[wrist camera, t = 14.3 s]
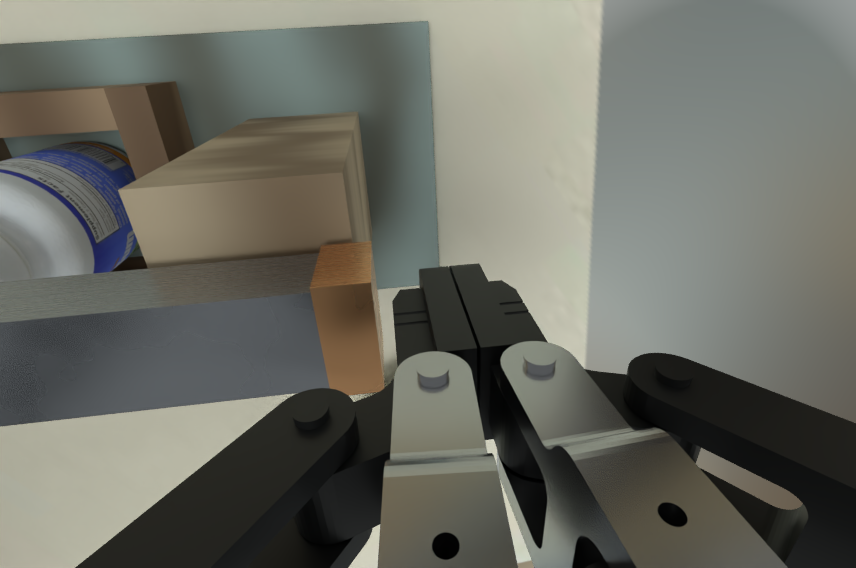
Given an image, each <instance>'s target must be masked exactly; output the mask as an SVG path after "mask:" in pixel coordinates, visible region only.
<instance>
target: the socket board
mask: <svg viewBox="0 0 856 568" xmlns="http://www.w3.org/2000/svg"><path fill="white" fill-rule="evenodd" d="M79 141H86V142H96V143H100V144H104V145H108V146H110V147H113V148H115V149H117V150H119V151H121V152H123V153H125V154H126V155H128V158H129V161H130V164H131V166H132V169H133V172H134V175H135V178H136V180H135V181H134V182H132V183H130V184H128V185H126V186H124V187H123V188H121V189H119V190H118V191H119V194H120V197H121V199H122V202H123V204H124V207H125V210H126V212H127V215H128V217H129V220H130V223H131V225H132V228H133V231H134V233H135V236H136V238H137V241H138V244H139V246H140V248H139V249H138V250H136V251H135V252H134V253H133V254H132V255H130V256H129V257H128V258H127V259H126V260H124V261H123V262H122V263H121V264H119V265H118V266H117V267H116V268H114V269H113V270H112V271H111V272H115V271H126V270H137V269H148V268H160V267H171V266H182V265H193V264H204V263H215V262H226V261H237V260H248V259H259V258H270V257H281V256H292V255H303V254H314V253H319V252H320V248H321V245H332V244H343V243H354V242H365V241H371V243H372V251H373V259H374V268H375V276H376V284H377V289H385V288H395V287H405V286H416V285H420V284H419V269H424V268H435V267H439V254H438V232H437V209H436V187H435V165H434V142H433V120H432V98H431V75H430V53H429V31H428V21H422V22H403V23H385V24H367V25H348V26H330V27H311V28H293V29H275V30H256V31H238V32H219V33H201V34H183V35H164V36H146V37H127V38H109V39H90V40H72V41H54V42H35V43H17V44H0V161H3V160H7V159H11V158H14V157H18V156H22V155H25V154H29V153H33V152H36V151H40V150H43V149H47V148H50V147H54V146H57V145H61V144H65V143H70V142H79Z"/></svg>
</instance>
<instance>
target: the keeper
mask: <svg viewBox="0 0 856 568" xmlns="http://www.w3.org/2000/svg"><path fill="white" fill-rule="evenodd" d="M316 388H330V389H336V390H339V391H341V392H343V393H345V394H347V395H356V394H365V393H374V392H380V391H381V390H383V389H384V358H383V335H382V326H381V318H380V310H379V301H378V293H377V284H376V276H375V268H374V259H373V251H372V243H371V241H365V242H354V243H343V244H332V245H321V248H320V252H319V253H314V254H303V255H292V256H281V257H270V258H259V259H248V260H237V261H226V262H215V263H204V264H193V265H182V266H171V267H160V268H148V269H137V270H126V271H115V272H104V273H93V274H82V275H71V276H60V277H49V278H38V279H27V280H16V281H5V282H0V426H8V425H17V424H26V423H35V422H43V421H52V420H61V419H70V418H79V417H88V416H97V415H106V414H115V413H124V412H132V411H141V410H150V409H159V408H168V407H177V406H186V405H195V404H204V403H213V402H221V401H230V400H239V399H248V398H257V397H266V396H275V395H284V394H293V393H300V392H303V391H306V390H310V389H316Z"/></svg>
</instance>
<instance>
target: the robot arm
mask: <svg viewBox="0 0 856 568" xmlns="http://www.w3.org/2000/svg"><path fill="white" fill-rule="evenodd" d="M419 284H420V288H416V289H406V290H400V291H399V292H398V294H397V295H396V297H395V298H394V300H393V301H392V302H393V314H394V327H395V340H396V352H397V365H398V366H397V369H396V372H395V375H394V379H393V380H392V381H391V383H390V384H389V385H388V386H387V387H385V388H384V389H383V390H381V391H380V392H378V393H376V394H374V395H372V396H369V397H367V398H364V399H361V400H359V401H356V402H353V401H352V399H351V398H350V397H349V396H348V395H347V394H345V393H343V392H341V391H339V390H336V389H330V388H316V389H310V390H306V391H303V392H300V393H298V394H295V395H293V396H291V397H290V398H288V399H286V400H285V401H284V402H282V403H281V404H280V405H278V406H277V407H276V408H275V409H273V410H272V411H271V412H270V413H268V414H267V415H266V416H265V417H263V418H262V419H261V420H260V421H258V422H257V423H256V424H255V425H253V426H252V427H251V428H250V429H248V430H247V431H246V432H245V433H243V434H242V435H241V436H240V437H238V438H237V439H236V440H235V441H233V442H232V443H231V444H230V445H228V446H227V447H226V448H225V449H223V450H222V451H221V452H220V453H218V454H217V455H216V456H215V457H213V458H212V459H211V460H210V461H208V462H207V463H206V464H205V465H203V466H202V467H201V468H200V469H198V470H197V471H196V472H195V473H193V474H192V475H191V476H189V477H188V478H187V479H186V480H184V481H183V482H182V483H181V484H179V485H178V486H177V487H176V488H174V489H173V490H172V491H171V492H169V493H168V494H167V495H166V496H164V497H163V498H162V499H161V500H159V501H158V502H157V503H156V504H154V505H153V506H152V507H151V508H149V509H148V510H147V511H146V512H144V513H143V514H142V515H141V516H139V517H138V518H137V519H136V520H134V521H133V522H132V523H131V524H129V525H128V526H127V527H126V528H124V529H123V530H122V531H121V532H119V533H118V534H117V535H116V536H114V537H113V538H112V539H111V540H109V541H108V542H107V543H106V544H104V545H103V546H102V547H101V548H99V549H98V550H97V551H96V552H94V553H93V554H92V555H91V556H89V557H88V558H87V559H86V560H84V561H83V562H82V563H81V564H79V565H78V566H77V567H76V568H348V567H349V566H350V564H351V563H352V562H353V560H354V559H355V557H356V556H357V555H358V553H359V552H360V551H361V549H362V548H363V547H364V545H365V544H366V542H367V541H368V539H369V537H370V535H371V532H372V528H373V527H375V526H377V525H379V524H380V539H379V555H378V568H518V565H517V560H516V555H515V551H514V546H513V541H512V536H511V531H510V527H509V522H508V517H507V512H506V507H505V503H504V498H503V493H502V488H501V483H502V485H503V488H504V490H505V493H506V495H507V498H508V500H509V503H510V506H511V508H512V511H513V513H514V516H515V518H516V521H517V523H518V526H519V529H520V531H521V534H522V536H523V539H524V541H525V544H526V546H527V549H528V552H529V554H530V557H531V559H532V563H533V566H534V568H856V423H853V422H851V421H848V420H846V419H843V418H840V417H838V416H835V415H832V414H830V413H827V412H825V411H822V410H819V409H817V408H814V407H811V406H809V405H806V404H804V403H801V402H798V401H796V400H793V399H791V398H788V397H785V396H783V395H780V394H778V393H775V392H772V391H770V390H767V389H764V388H762V387H759V386H756V385H754V384H751V383H748V382H746V381H744V380H741V379H738V378H736V377H733V376H730V375H728V374H725V373H723V372H720V371H717V370H715V369H712V368H709V367H707V366H704V365H702V364H699V363H697V362H694V361H691V360H689V359H686V358H683V357H680V356H676V355H672V354H666V353H648V354H643V355H640V356H638V357H636V358H634V359H633V360H632V361H631V362H630V363H629V366H628V371H627V375H625V374H616V373H606V372H597V371H591V370H586V369H584V368H583V367H582V366H581V364H580V363H579V362H578V361H577V359H576V358H575V357H574V356H573V355H572V354H571V353H570V352H568V351H567V350H565V349H564V348H562V347H560V346H557V345H555V344H551V343H548V342H547V340H546V339H545V337H544V335H543V334H542V332H541V330H540V329H539V327H538V326H537V324H536V322H535V321H534V319H533V317H532V316H531V314H530V313H528V309H527V307H526V306H525V304H524V303H523V301H522V299H521V297H520V296H519V294H518V293H517V291H516V289H514V288H513V287H511V286H509V285H508V284H506V283H505V282H503V281H502V280H501V281H490V282H488V280H487V278H486V276H485V274H484V272H483V270H482V268H481V266H480V264H479V263H478V264H467V265H456V266H450V267H448V266H446V267H435V268H424V269H419ZM489 439H494V441H495V444H496V447H497V465H496V461H495V458H494V455H493V454H492V453H487V449H486V444H485V440H489ZM701 448H703V449H705V450H707V451H709V452H711V453H714V454H716V455H718V456H720V457H722V458H724V459H726V460H728V461H730V462H732V463H734V464H736V465H738V466H740V467H742V468H744V469H746V470H748V471H750V472H752V473H754V474H756V475H758V476H760V477H762V478H764V479H766V480H768V481H770V482H772V483H774V484H777V485H779V486H780V487H782V488H784V489H786V490H788V491H790V492H791V493H792V494H794V495H795V496H796V497H797V498H799V500H800V501H801V502H802V503H803V504H802V506H801V507H799V508H797V509H794V510H785V509H780V508H777V507H774V506H772V505H770V504H768V503H766V502H764V501H762V500H760V499H758V498H756V497H755V496H753V495H751V494H749V493H747V492H745V491H743V490H741V489H739V488H737V487H735V486H733V485H732V484H729V483H728V482H726V481H724V480H722V479H720V478H718V477H716V476H714V475H712V474H710V473H709V472H707V471H704V470H703V469H701V468H699V467H698V466H697V465H696V461H697V458H698V455H699V452H700V449H701ZM499 478H500V479H499ZM500 480H501V483H500Z"/></svg>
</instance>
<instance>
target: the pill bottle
mask: <svg viewBox="0 0 856 568" xmlns="http://www.w3.org/2000/svg"><path fill="white" fill-rule="evenodd" d="M135 180H136V178H135V175H134V172H133V169H132V166H131V164H130V161H129V158H128V155H126V154H125V153H123V152H121V151H119V150H117V149H115V148H113V147H110V146H108V145H104V144H100V143H96V142H86V141H79V142H70V143H65V144H61V145H57V146H54V147H50V148H47V149H43V150H40V151H36V152H33V153H29V154H25V155H22V156H18V157H14V158H11V159H7V160H3V161H0V282H5V281H16V280H27V279H38V278H49V277H60V276H71V275H82V274H93V273H104V272H111V271H112V270H113V269H114V268H116V267H117V266H118V265H119V264H121V263H122V262H123V261H124V260H126V259H127V258H128V257H129V256H130V255H132V254H133V253H134V252H135V251H136V250H138V249H139V248H140V246H139V244H138V241H137V238H136V236H135V233H134V231H133V228H132V225H131V223H130V220H129V217H128V215H127V212H126V210H125V207H124V204H123V202H122V199H121V197H120V194H119V191H118V190H119V189H121V188H123V187H124V186H126V185H128V184H130V183H132V182H134V181H135Z"/></svg>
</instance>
